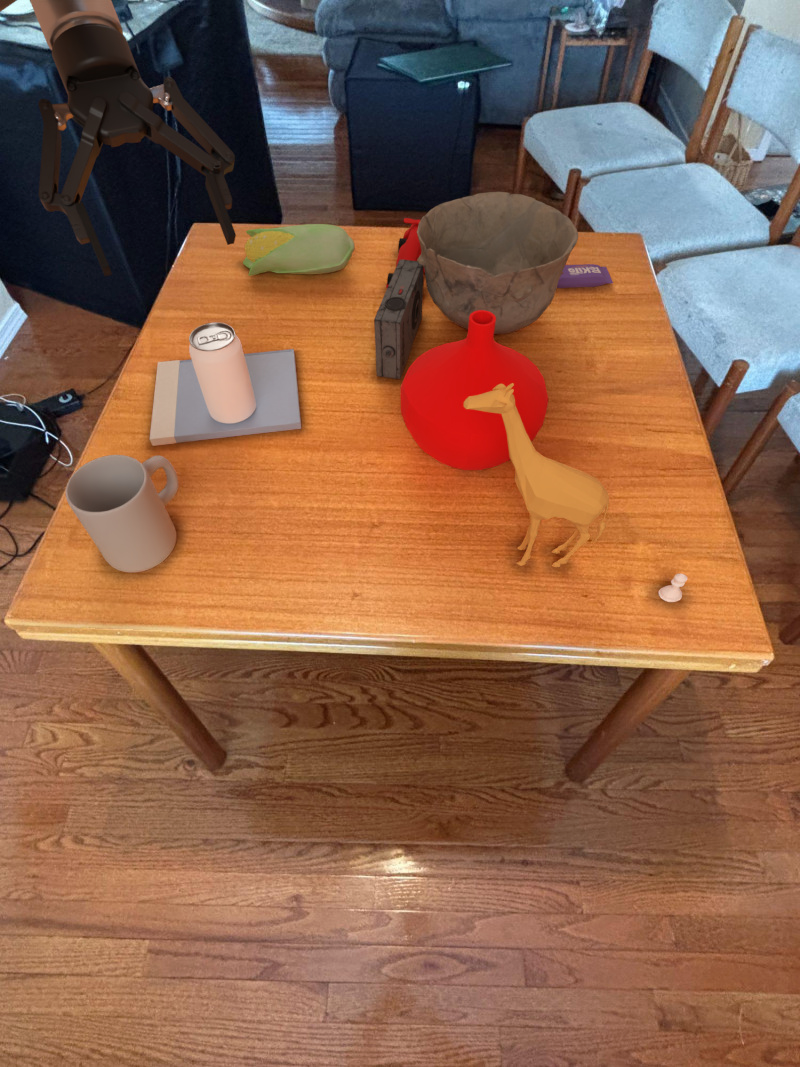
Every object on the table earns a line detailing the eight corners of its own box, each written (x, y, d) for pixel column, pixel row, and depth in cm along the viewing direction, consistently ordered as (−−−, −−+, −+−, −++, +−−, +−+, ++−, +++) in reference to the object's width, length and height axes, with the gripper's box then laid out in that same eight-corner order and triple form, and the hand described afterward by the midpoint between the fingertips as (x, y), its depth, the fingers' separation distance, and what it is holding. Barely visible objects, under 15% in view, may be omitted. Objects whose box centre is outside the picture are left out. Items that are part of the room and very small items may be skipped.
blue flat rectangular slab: (152, 446, 85) (149, 439, 84) (160, 368, 95) (157, 361, 94) (301, 429, 87) (300, 422, 86) (294, 355, 96) (293, 348, 95)
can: (261, 419, 86) (243, 345, 77) (214, 430, 85) (189, 357, 75) (251, 389, 90) (233, 315, 80) (205, 400, 89) (181, 326, 79)
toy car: (384, 301, 104) (383, 273, 100) (402, 244, 115) (402, 216, 111) (419, 304, 104) (420, 276, 100) (434, 247, 114) (436, 219, 110)
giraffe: (448, 564, 74) (463, 399, 53) (450, 533, 76) (467, 366, 56) (591, 578, 72) (663, 415, 52) (589, 547, 75) (657, 380, 55)
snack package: (607, 261, 108) (615, 278, 105) (604, 271, 109) (611, 288, 106) (540, 263, 107) (545, 280, 104) (538, 273, 109) (543, 291, 106)
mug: (139, 585, 72) (102, 527, 63) (88, 552, 75) (46, 492, 66) (212, 515, 78) (187, 453, 69) (162, 487, 81) (132, 424, 72)
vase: (372, 451, 84) (365, 328, 69) (450, 378, 93) (460, 254, 78) (489, 516, 78) (510, 396, 62) (561, 431, 86) (596, 308, 71)
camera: (400, 385, 92) (399, 326, 84) (373, 381, 93) (371, 322, 85) (423, 318, 102) (424, 260, 94) (399, 315, 102) (398, 256, 94)
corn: (352, 261, 102) (229, 264, 103) (357, 283, 111) (243, 285, 111) (352, 211, 103) (229, 214, 103) (356, 236, 111) (243, 239, 111)
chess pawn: (678, 587, 72) (691, 567, 68) (683, 602, 70) (697, 583, 67) (655, 587, 72) (667, 568, 68) (660, 603, 70) (672, 584, 67)
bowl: (390, 314, 102) (389, 222, 90) (486, 265, 111) (496, 175, 98) (488, 383, 92) (501, 289, 80) (585, 323, 101) (610, 231, 89)
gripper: (206, 48, 71) (275, 239, 75) (-32, 87, 64) (57, 295, 69) (209, 0, 64) (284, 214, 68) (-59, 39, 57) (43, 274, 61)
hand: (171, 255), depth 68 cm, fingers open, 13 cm apart
